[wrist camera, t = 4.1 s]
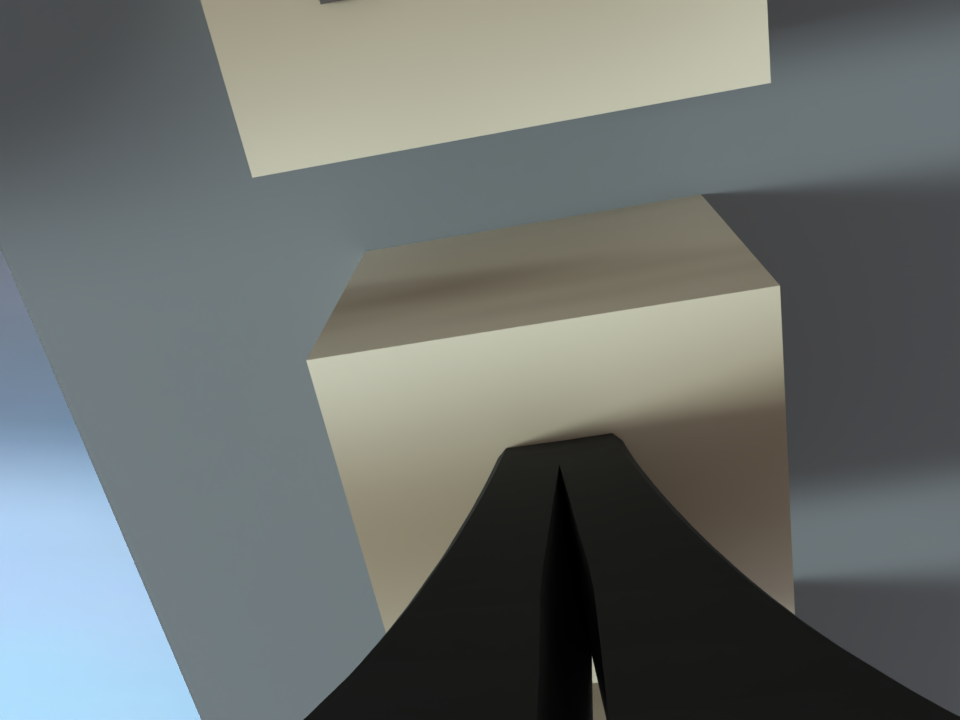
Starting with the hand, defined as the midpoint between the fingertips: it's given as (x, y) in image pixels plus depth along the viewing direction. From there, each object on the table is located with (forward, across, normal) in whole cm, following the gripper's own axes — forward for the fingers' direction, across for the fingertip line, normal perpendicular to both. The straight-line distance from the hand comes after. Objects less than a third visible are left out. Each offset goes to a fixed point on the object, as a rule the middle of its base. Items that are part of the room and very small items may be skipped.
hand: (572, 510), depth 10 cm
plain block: (+4, 0, 0) cm, 4 cm away
